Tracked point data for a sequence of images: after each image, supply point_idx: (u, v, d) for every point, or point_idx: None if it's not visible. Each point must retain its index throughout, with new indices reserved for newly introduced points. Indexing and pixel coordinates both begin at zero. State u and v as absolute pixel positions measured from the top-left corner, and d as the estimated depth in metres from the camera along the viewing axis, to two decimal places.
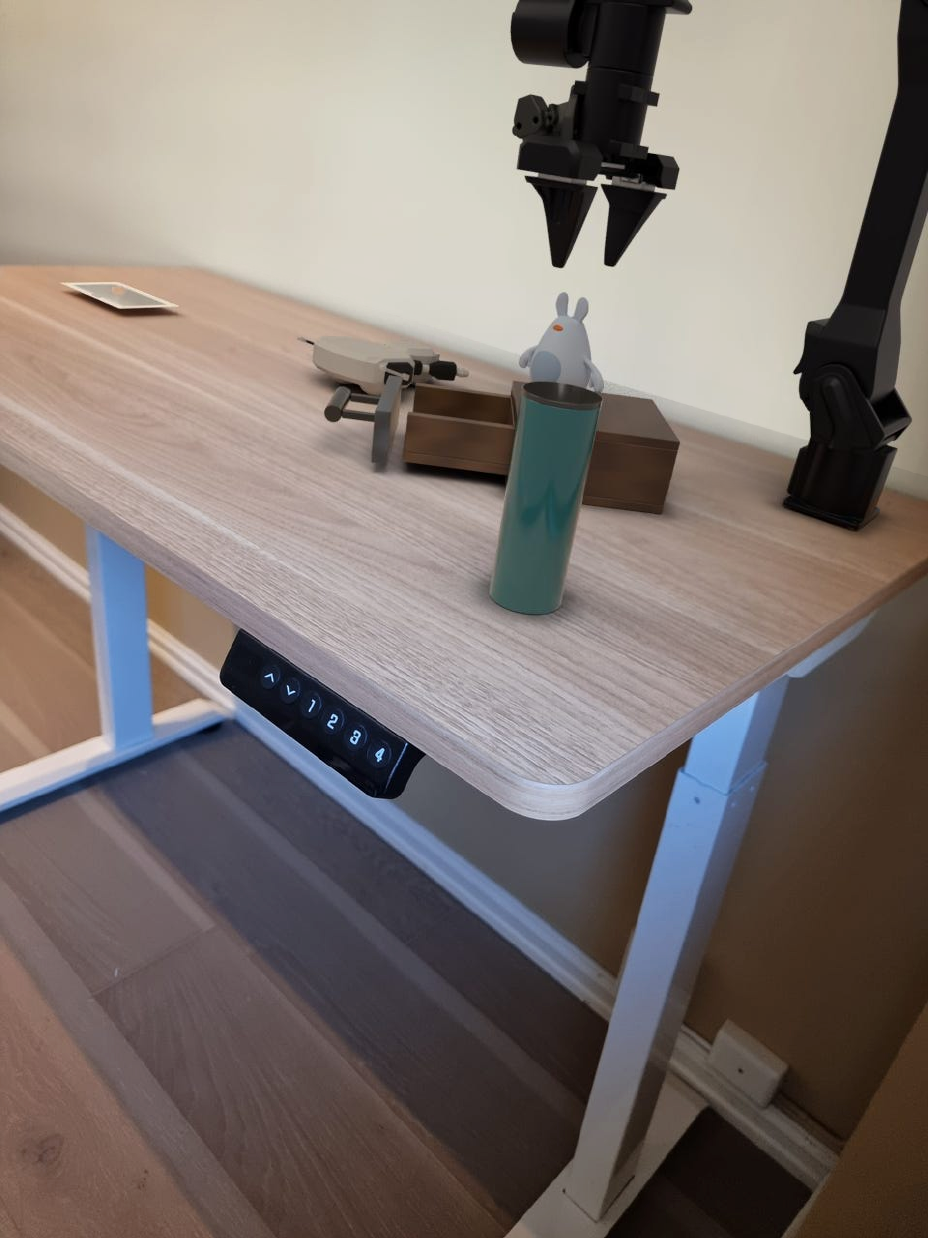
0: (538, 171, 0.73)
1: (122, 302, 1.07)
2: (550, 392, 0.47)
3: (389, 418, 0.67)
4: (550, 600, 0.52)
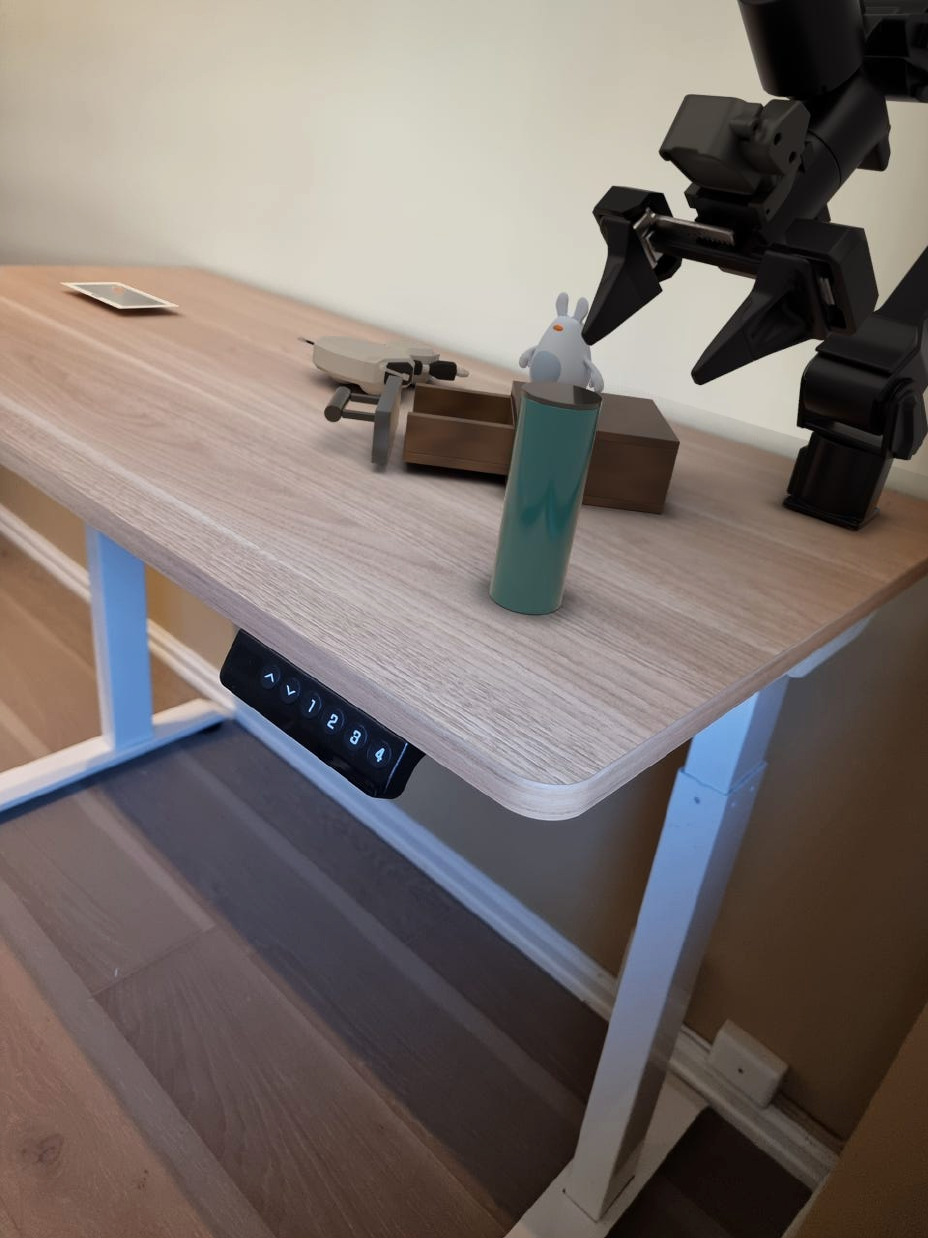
0: (848, 292, 0.47)
1: (122, 302, 1.07)
2: (550, 392, 0.47)
3: (389, 418, 0.67)
4: (550, 600, 0.52)
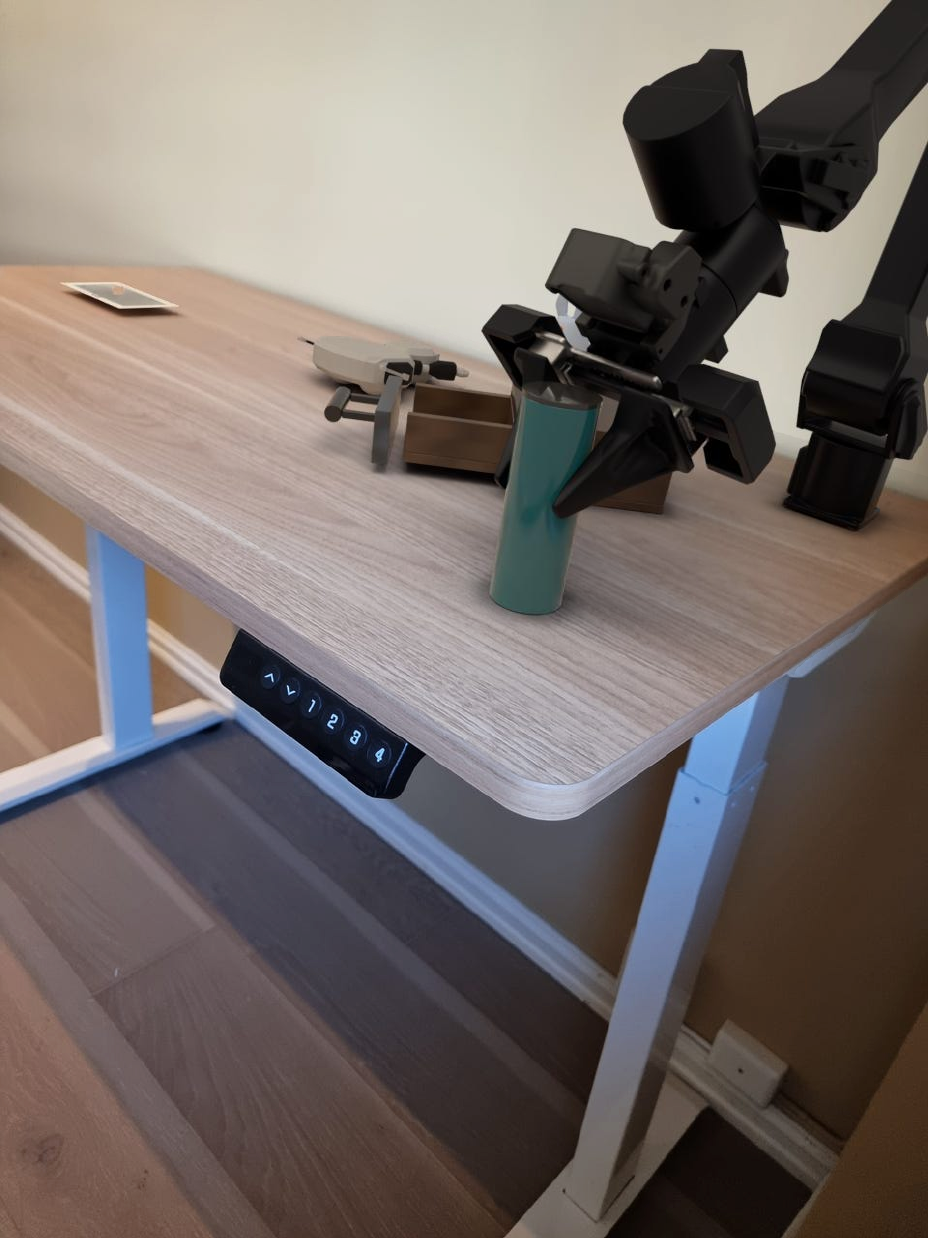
0: (743, 446, 0.44)
1: (122, 302, 1.07)
2: (550, 392, 0.47)
3: (389, 418, 0.67)
4: (550, 600, 0.52)
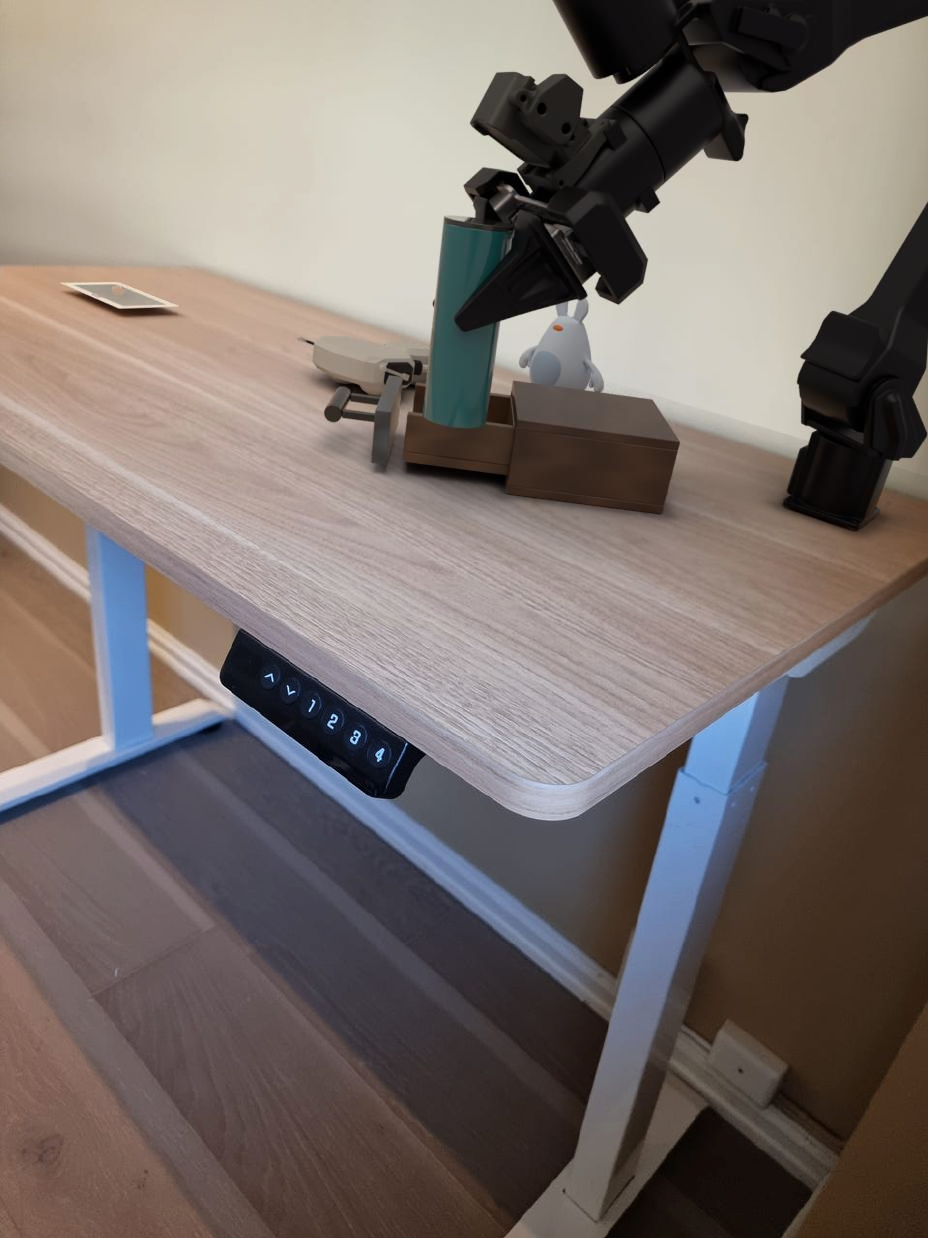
0: (594, 255, 0.49)
1: (122, 302, 1.07)
2: (466, 219, 0.55)
3: (389, 418, 0.67)
4: (463, 415, 0.59)
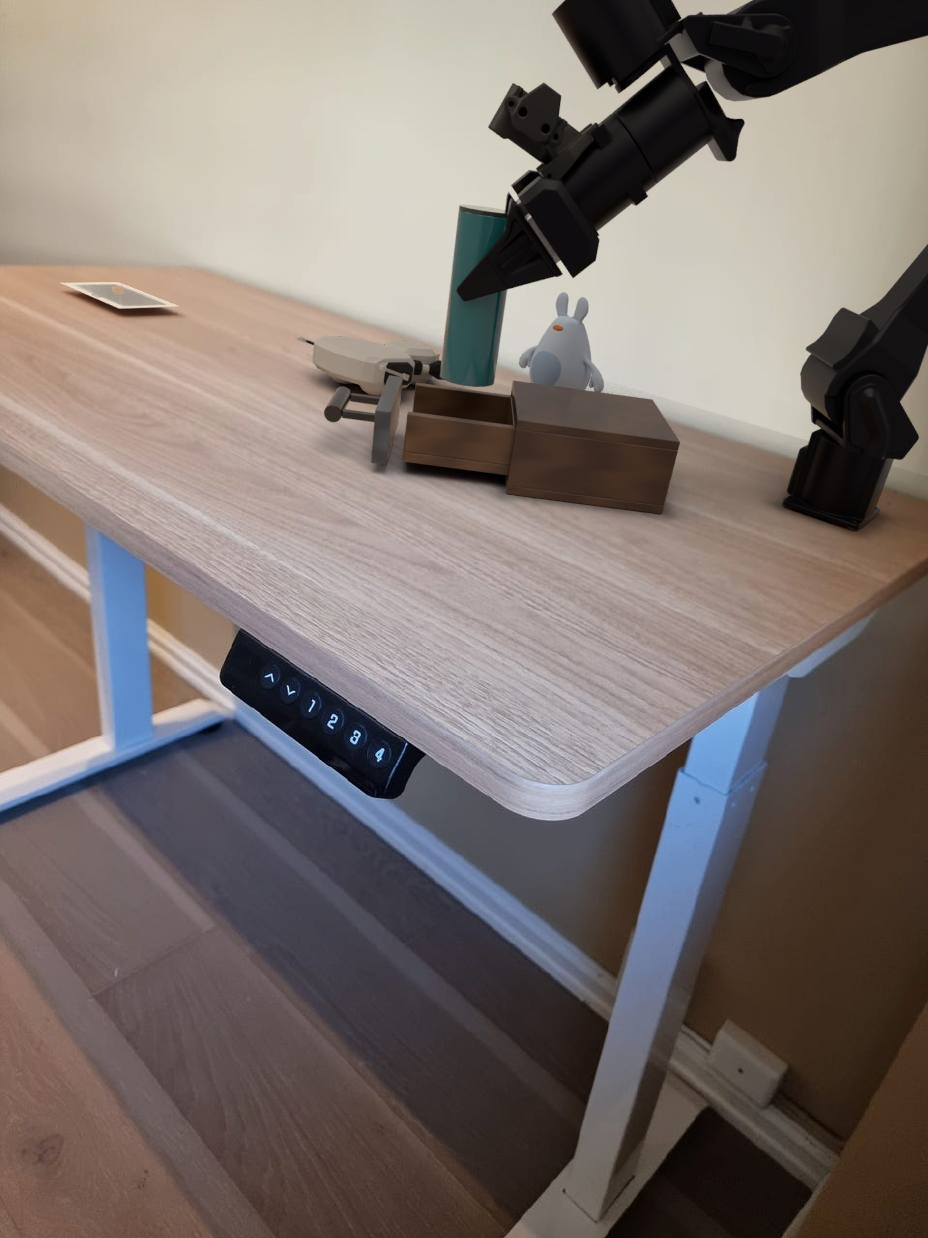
0: (544, 233, 0.57)
1: (122, 302, 1.07)
2: (478, 207, 0.65)
3: (389, 418, 0.67)
4: (465, 374, 0.69)
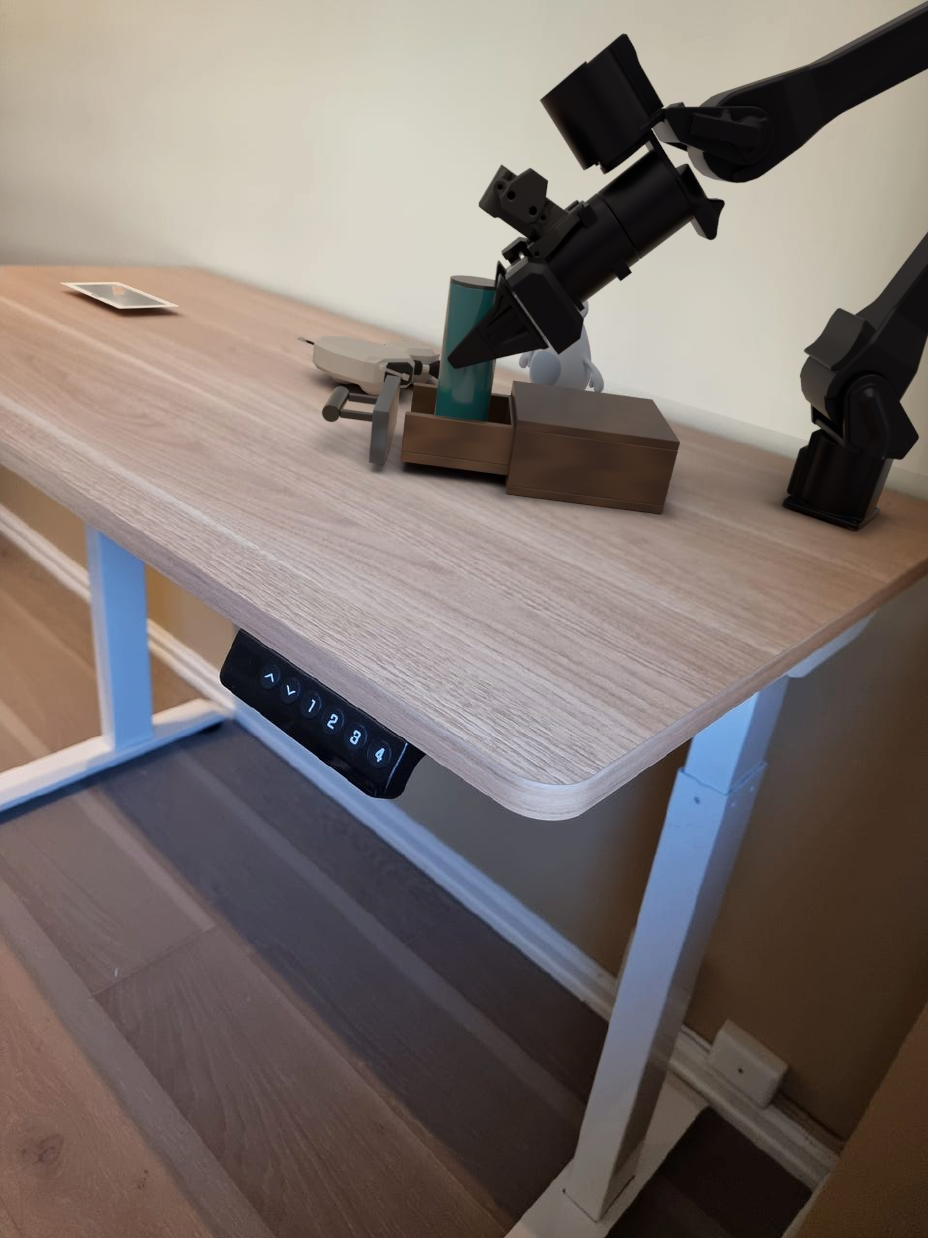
0: (530, 313, 0.60)
1: (122, 302, 1.07)
2: (468, 279, 0.68)
3: (387, 418, 0.67)
4: None
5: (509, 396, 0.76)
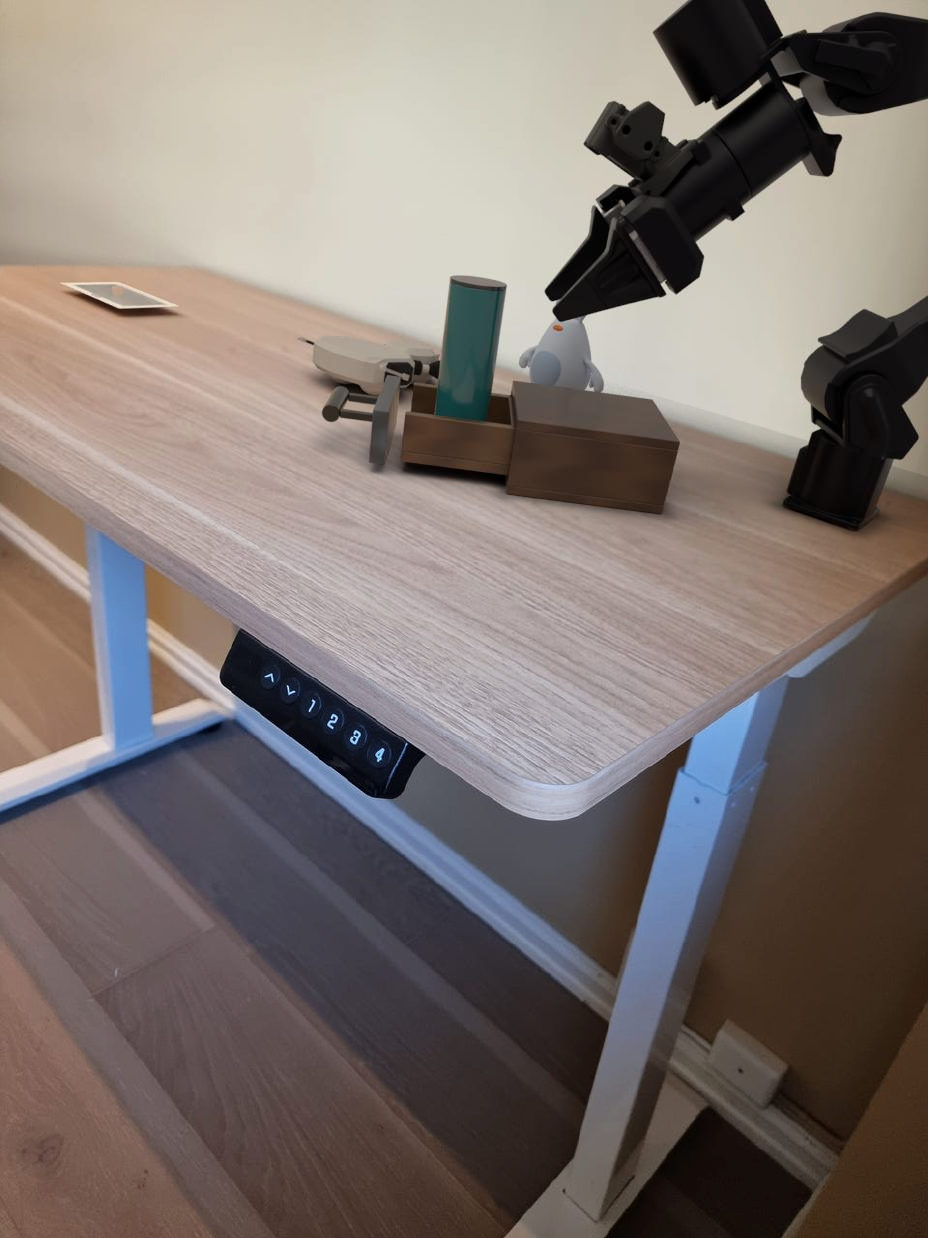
0: (650, 250, 0.58)
1: (122, 302, 1.07)
2: (468, 279, 0.68)
3: (387, 418, 0.67)
4: None
5: (509, 396, 0.76)
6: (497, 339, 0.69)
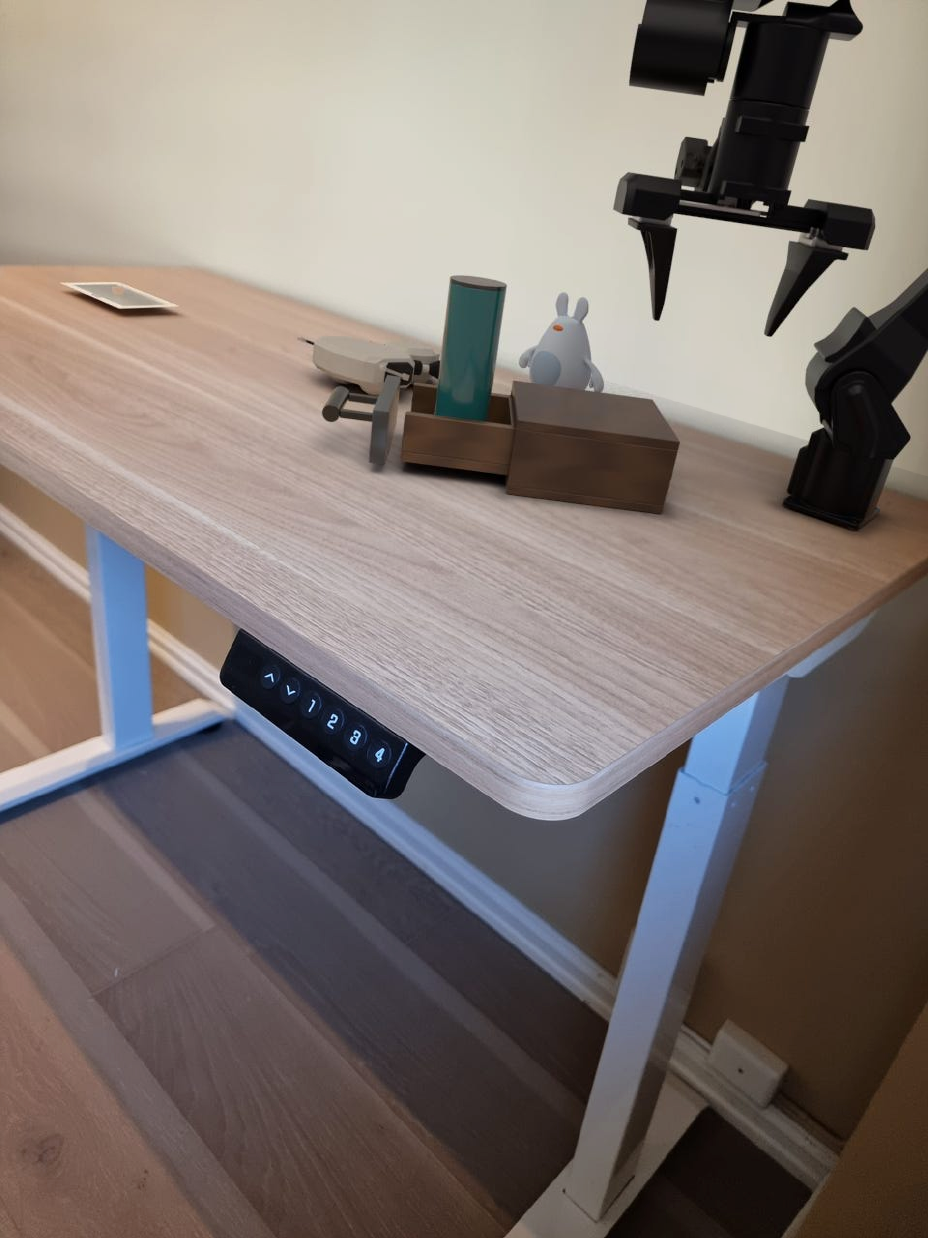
0: (616, 209, 0.68)
1: (122, 302, 1.07)
2: (468, 279, 0.68)
3: (387, 418, 0.67)
4: None
5: (509, 396, 0.76)
6: (497, 339, 0.69)
